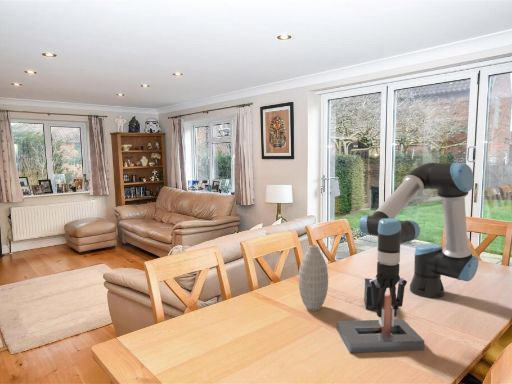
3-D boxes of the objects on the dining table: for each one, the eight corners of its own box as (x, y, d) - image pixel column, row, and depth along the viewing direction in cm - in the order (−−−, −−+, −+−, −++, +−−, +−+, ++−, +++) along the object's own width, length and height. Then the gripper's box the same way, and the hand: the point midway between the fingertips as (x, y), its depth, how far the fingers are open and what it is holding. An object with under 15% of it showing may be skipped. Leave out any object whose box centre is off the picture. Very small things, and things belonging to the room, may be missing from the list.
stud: (389, 334, 132) (391, 293, 130) (395, 341, 127) (397, 298, 125) (376, 334, 132) (377, 293, 130) (381, 341, 127) (383, 299, 125)
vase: (330, 304, 159) (331, 243, 156) (323, 316, 148) (324, 250, 145) (303, 300, 165) (303, 240, 162) (294, 311, 153) (294, 247, 150)
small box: (381, 310, 153) (382, 287, 152) (365, 309, 154) (366, 286, 153) (378, 300, 163) (378, 278, 162) (363, 299, 164) (364, 278, 163)
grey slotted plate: (402, 327, 138) (402, 319, 138) (423, 350, 122) (424, 340, 122) (336, 329, 137) (336, 321, 136) (349, 353, 121) (349, 343, 120)
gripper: (405, 258, 130) (402, 319, 133) (362, 259, 130) (361, 320, 132) (415, 264, 123) (412, 329, 125) (370, 266, 122) (368, 330, 125)
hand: (386, 324), depth 129 cm, fingers closed on stud, 3 cm apart
